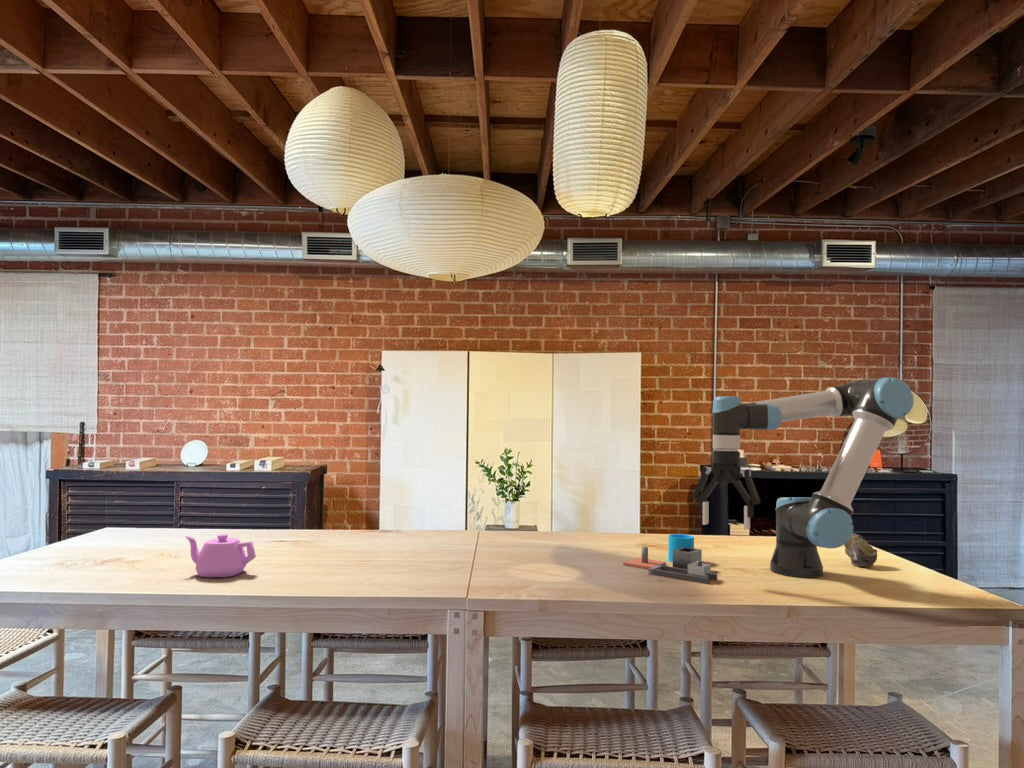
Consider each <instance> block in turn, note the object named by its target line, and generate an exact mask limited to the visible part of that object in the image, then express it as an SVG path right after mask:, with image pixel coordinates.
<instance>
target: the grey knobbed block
mask: <svg viewBox="0 0 1024 768" xmlns="http://www.w3.org/2000/svg"><path fill="white" fill-rule="evenodd" d="M711 565H712V564H710V563H703V560H702V561H699V560H697V561H696V562H693V563H690V564H688V575H693V576H699V577H705V578H709V580H711V579H710V578H711V573H712V571H711V569H712V566H711Z"/></svg>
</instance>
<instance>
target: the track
mask: <svg viewBox="0 0 1024 768" xmlns="http://www.w3.org/2000/svg"><path fill="white" fill-rule="evenodd" d="M648 575H652V576H659V577H665V578H669V579H676V580H681V581H688V582H692V583H693V582H694V583H699V584H705V585H709V583H710V580H715V581H717V580H718V573H713V572H711V578H710V579H709V578H705V577H699V576H693V575H688V569H682V568H676V567H673V566H670V565H658V566H655V567H652V568H650V569H648Z"/></svg>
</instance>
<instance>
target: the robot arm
mask: <svg viewBox="0 0 1024 768" xmlns="http://www.w3.org/2000/svg"><path fill="white" fill-rule="evenodd" d="M914 399H915V398H914V394H913V393H912V390H911V387H910V386H909V385H908V384H907V383H906V382H905V381H903V380H902V379H900V378H897V377H888V376H884V377H880V378H867V379H864V378H863V379H858V380H854V381H850V382H848V383H843V384H839V385H835V386H828V387H827V388H826V389H825V390H823V391H817V392H811V393H804V394H799V395H792V396H785V397H778V398H772V399H765V400H759V401H758V400H757V401H753V402H746V403H742V402H741V398H740V397H739V396H734V395H733V396H732V395H731V396H729V395H727V396H725V395H724V396H716V397H714V398H713V402H712V403H713V404H712V411H711V412H712V448H713V449H714V450H713V451H712V466H711V467H710V466H708V465H707V466H702V467H701V474H700V476H699V477H700V478H699V480H698V483H697V486H696V488H695V489H694V493H693V496H692V497H693V499H695V500H697V501H699V512H700V513H702V525H703V526H705V525H709V524H710V523H709V521H710V520H709V517H710V516H709V514H710V512H709V510H710V507H709V506H710V504H709V503H710V501H707V500H708V498H709V496H710V495H711V494H712V492H713V491H714V490H715V488H716V486H718V484H719V483H727V484H732V485H733V486H734V487H735V489H736V490H737V491H738V493H739V495H740V496H741V498H742V500H743V501H744V502H745V504H746V505H744V506H743V529H744V530H746V531H747V530H749V529H751V518H753V517H754V508H755V507H754V506H756V505H759V504H761V499H760V496H759V494H758V491H757V488H756V485H755V483H754V480H753V478H752V469H750V468H748V469H742V468H741V452H740V451H739V450H740V448H741V430H743V431H744V430H749V431H751V430H753V431H775V430H778V429H779V428H780V427H781V424H782V423H786V422H791V421H793V422H794V421H799V420H805V419H811V418H819V417H824V416H825V417H826V416H830V417H833V418H838V417H840V418H841V417H853V418H854V421H853V423H852V425H851V427H850V429H849V432H848V433H847V435H846V438H845V439H844V441H843V444H842V446H841V449H839V452H838V454H837V456H836V458H835V460H834V462H833V465H832V467H831V468H830V470H829V472H828V474H827V477H826V479H825V481H824V483H823V485H822V487H821V489H820V490H819V491H815V492H813V493H812V495H811V497H805V496H803V497H800V496H799V497H796V496H795V497H793V496H792V497H791V496H789V497H786V496H785V497H783V496H782V497H779V498H777V500H776V504H775V505H776V507H775V524H776V525H775V530H776V531H775V536H776V537H775V541H776V542H775V548H774V550H773V553H772V556H771V559H770V563H769V566H770V567H769V570H770V571H771V572H773V573H775V574H779V575H784V576H789V577H798V578H818V577H822V576H824V566H823V563H822V561H821V560H822V559H821V557H820V554H819V551H818V547H819V548H824V549H838V548H841V547H842V546H844V544H845V543H847V542H848V540H849V539H850V538H851V536H852V533H853V532H854V525H853V519H852V516H853V514H854V509H853V507H852V503H853V500H854V497H855V496H856V494H857V491H858V490H859V488H860V485H861V482H862V481H863V479H864V477H865V475H866V472H867V470H868V468H869V467H870V465H871V461H872V460H873V458H874V456H875V454H876V452H877V449H878V447H879V445H880V443H881V441H882V440H883V437H884V434H885V433H886V432H888V431H891V430H893V429H894V427H895V426H896V423H897V421H898V419H899V418H900V419H901V418H904V417H905V416H908V414H909V413H911V411H912V409H913V407H914ZM711 473H712V475H713V477H712V479H711V480H710V483H709V484H708V485H707V487H705V485H706V484H707V483H706V482H707V481H708V477H709V475H710V474H711ZM740 475H742V476H743V478H744V481H745V483H746V486H747V489H748V491H747V490H746V488H745V487H744V484H743V483H742V481H741V479H740V477H739V476H740ZM704 489H705V490H704Z"/></svg>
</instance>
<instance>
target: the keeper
mask: <svg viewBox="0 0 1024 768" xmlns="http://www.w3.org/2000/svg"><path fill="white" fill-rule="evenodd" d="M622 565H623V566H627V567H633V568H640V569H644V570H649V569H650V568H652V567H655V566H658V565H664V566H667V562H666V561H661V560H656V559H655V560H654V559H649V547H648V546H641V557H635V558H633V559H630V560H627V561H624V562H623V563H622Z"/></svg>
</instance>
